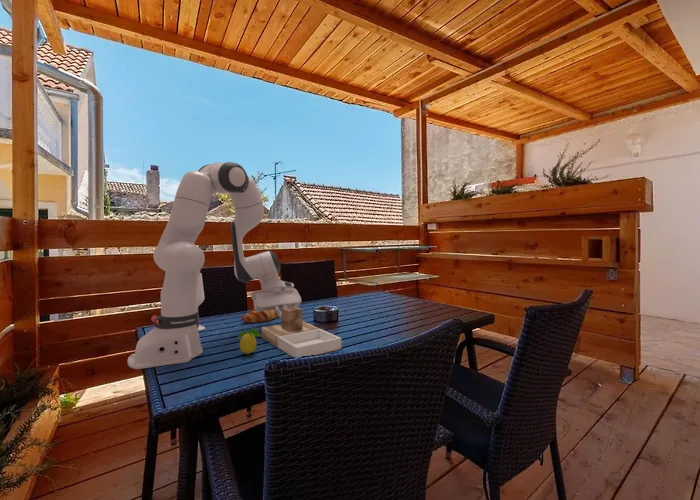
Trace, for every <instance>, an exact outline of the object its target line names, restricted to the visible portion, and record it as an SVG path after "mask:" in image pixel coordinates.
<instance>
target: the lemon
mask: <svg viewBox="0 0 700 500" xmlns="http://www.w3.org/2000/svg"><path fill="white" fill-rule="evenodd" d="M256 337H261V334H260V332H259V331H258V330H257V329H255V328H249V326H248V325H247V329H246V330H242V331H241V332H240V333H239V334H238V336H237V340H238V339H240V341H239V349H240V351H241V352H242V353H244V354H246V355H248V356H249V355H250V354H251V353H253V352H255V350H256V349H257V339H256Z"/></svg>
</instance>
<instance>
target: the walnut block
mask: <svg viewBox="0 0 700 500" xmlns="http://www.w3.org/2000/svg"><path fill="white" fill-rule="evenodd" d="M281 312H282V317H281V324H282V329H284V330H286V331H288V332H291V331H296V330H302V321H303V308H300V307H299V306H297V307H288V308H282V309H281Z"/></svg>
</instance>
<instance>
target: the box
mask: <svg viewBox="0 0 700 500" xmlns="http://www.w3.org/2000/svg"><path fill="white" fill-rule="evenodd" d="M277 348H278V349H279V350H280V351H282V352H284V353H285V354H287V355H289V356H290V357H291V358H293V357H302V356H310V357H312V356H311V355H314V356H318V355H322V354H325V353H331V352H334V351H338V350H339V351H340V350H342V337H339V336H338V335H335V334H334V333H330V332H329V331H326V330H325V329H323V328H318V329H315V330H309V331H304V332H299V333H294V334H289V335H283V336H278V337H277Z"/></svg>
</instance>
